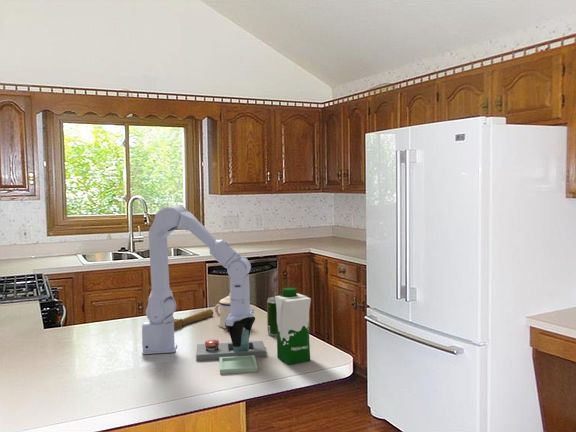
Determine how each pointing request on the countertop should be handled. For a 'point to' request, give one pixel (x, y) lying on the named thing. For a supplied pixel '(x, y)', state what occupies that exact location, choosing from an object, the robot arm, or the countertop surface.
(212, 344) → the plunger
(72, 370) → the countertop surface
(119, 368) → the countertop surface
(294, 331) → the milk carton
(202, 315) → the tap handle
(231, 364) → the tray
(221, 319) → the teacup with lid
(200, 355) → the housing
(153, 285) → the robot arm
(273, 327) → the beer can
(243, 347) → the rotary knob
